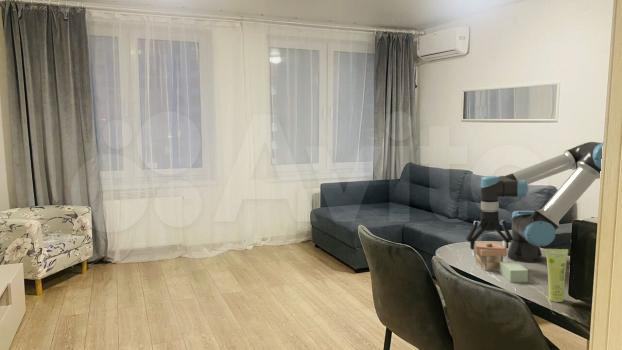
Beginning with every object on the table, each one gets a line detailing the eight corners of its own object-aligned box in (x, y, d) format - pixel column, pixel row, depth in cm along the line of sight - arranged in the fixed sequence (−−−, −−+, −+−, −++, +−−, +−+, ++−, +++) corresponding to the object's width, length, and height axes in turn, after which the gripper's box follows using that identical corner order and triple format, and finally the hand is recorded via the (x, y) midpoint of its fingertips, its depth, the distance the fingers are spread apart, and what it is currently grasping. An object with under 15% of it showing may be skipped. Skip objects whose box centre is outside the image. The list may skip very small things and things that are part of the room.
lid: (496, 247, 214) (496, 240, 214) (506, 255, 201) (507, 247, 201) (472, 248, 215) (472, 240, 214) (481, 256, 202) (481, 248, 202)
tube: (556, 304, 165) (557, 251, 163) (544, 299, 170) (545, 248, 167) (567, 301, 167) (568, 249, 165) (554, 296, 172) (555, 246, 170)
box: (493, 262, 215) (493, 247, 214) (502, 270, 203) (503, 255, 202) (476, 262, 215) (476, 248, 214) (484, 270, 203) (484, 255, 202)
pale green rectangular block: (515, 272, 200) (516, 261, 199) (527, 282, 188) (527, 270, 187) (499, 272, 200) (499, 261, 199) (510, 282, 188) (510, 270, 187)
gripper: (514, 207, 209) (513, 252, 212) (459, 209, 210) (459, 254, 213) (521, 211, 202) (520, 257, 204) (464, 212, 203) (464, 258, 205)
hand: (489, 255), depth 208 cm, fingers open, 13 cm apart
